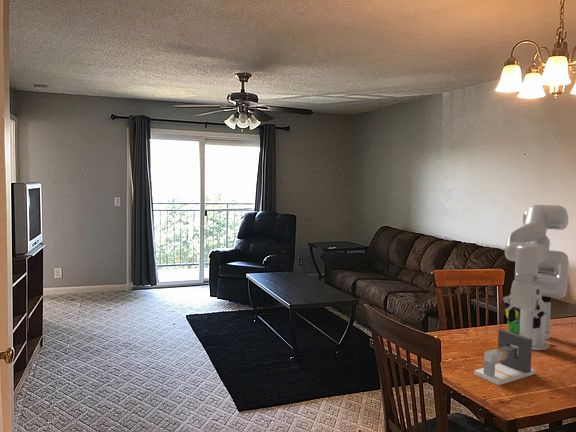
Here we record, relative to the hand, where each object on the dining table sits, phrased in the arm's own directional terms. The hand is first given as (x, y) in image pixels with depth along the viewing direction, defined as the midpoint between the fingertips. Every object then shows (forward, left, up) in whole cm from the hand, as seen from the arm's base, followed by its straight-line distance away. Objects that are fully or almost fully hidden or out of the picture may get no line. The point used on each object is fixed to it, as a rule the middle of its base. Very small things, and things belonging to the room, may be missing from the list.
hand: (523, 324), depth 169 cm
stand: (+9, 0, -17) cm, 20 cm away
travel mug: (-43, -19, -17) cm, 50 cm away
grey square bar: (+9, 0, -11) cm, 15 cm away
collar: (+4, 0, -15) cm, 16 cm away
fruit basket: (-40, -30, -18) cm, 53 cm away
